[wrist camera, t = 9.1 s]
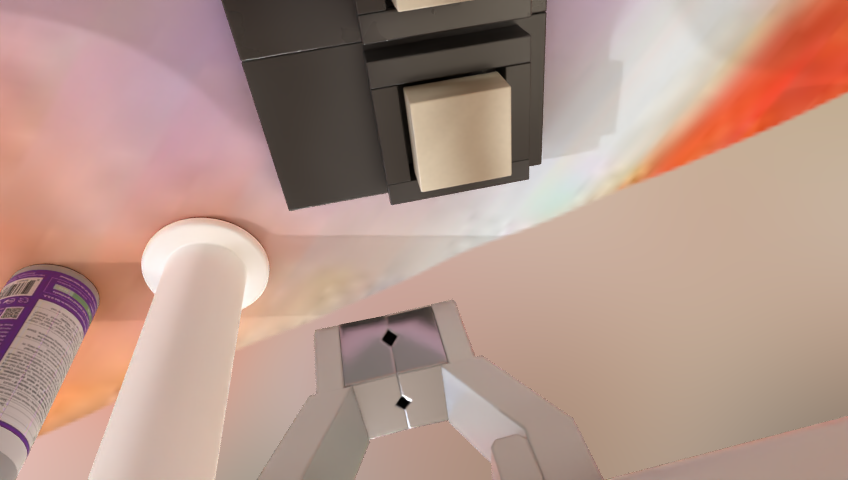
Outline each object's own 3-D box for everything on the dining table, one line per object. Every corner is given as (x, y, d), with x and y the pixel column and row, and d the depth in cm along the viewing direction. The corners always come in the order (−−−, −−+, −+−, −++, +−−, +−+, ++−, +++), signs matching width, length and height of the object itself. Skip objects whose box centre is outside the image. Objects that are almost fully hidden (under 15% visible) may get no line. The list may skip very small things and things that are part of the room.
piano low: (290, 190, 29) (287, 231, 26) (245, 47, 24) (236, 75, 21) (528, 147, 30) (553, 180, 27) (530, 1, 25) (562, 21, 22)
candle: (198, 193, 28) (-63, 968, 9) (294, 264, 32) (266, 908, 12) (117, 265, 30) (-258, 1046, 10) (217, 324, 34) (84, 972, 14)
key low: (414, 172, 26) (421, 193, 24) (402, 86, 23) (409, 104, 22) (499, 156, 26) (512, 175, 25) (497, 70, 24) (511, 86, 22)
